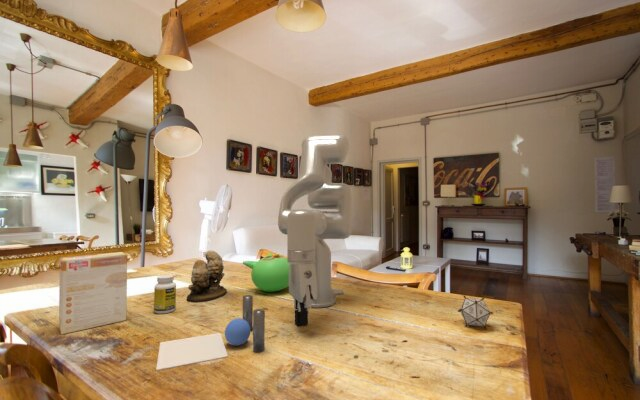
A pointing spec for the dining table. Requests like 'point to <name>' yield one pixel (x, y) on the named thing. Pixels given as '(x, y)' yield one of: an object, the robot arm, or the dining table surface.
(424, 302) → the dining table surface
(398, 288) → the dining table surface
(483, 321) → the game die
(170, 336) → the dining table surface
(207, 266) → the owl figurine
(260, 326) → the post
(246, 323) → the ball
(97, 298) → the coffeecake box
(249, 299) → the post
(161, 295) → the pill bottle
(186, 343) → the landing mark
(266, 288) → the green teapot
